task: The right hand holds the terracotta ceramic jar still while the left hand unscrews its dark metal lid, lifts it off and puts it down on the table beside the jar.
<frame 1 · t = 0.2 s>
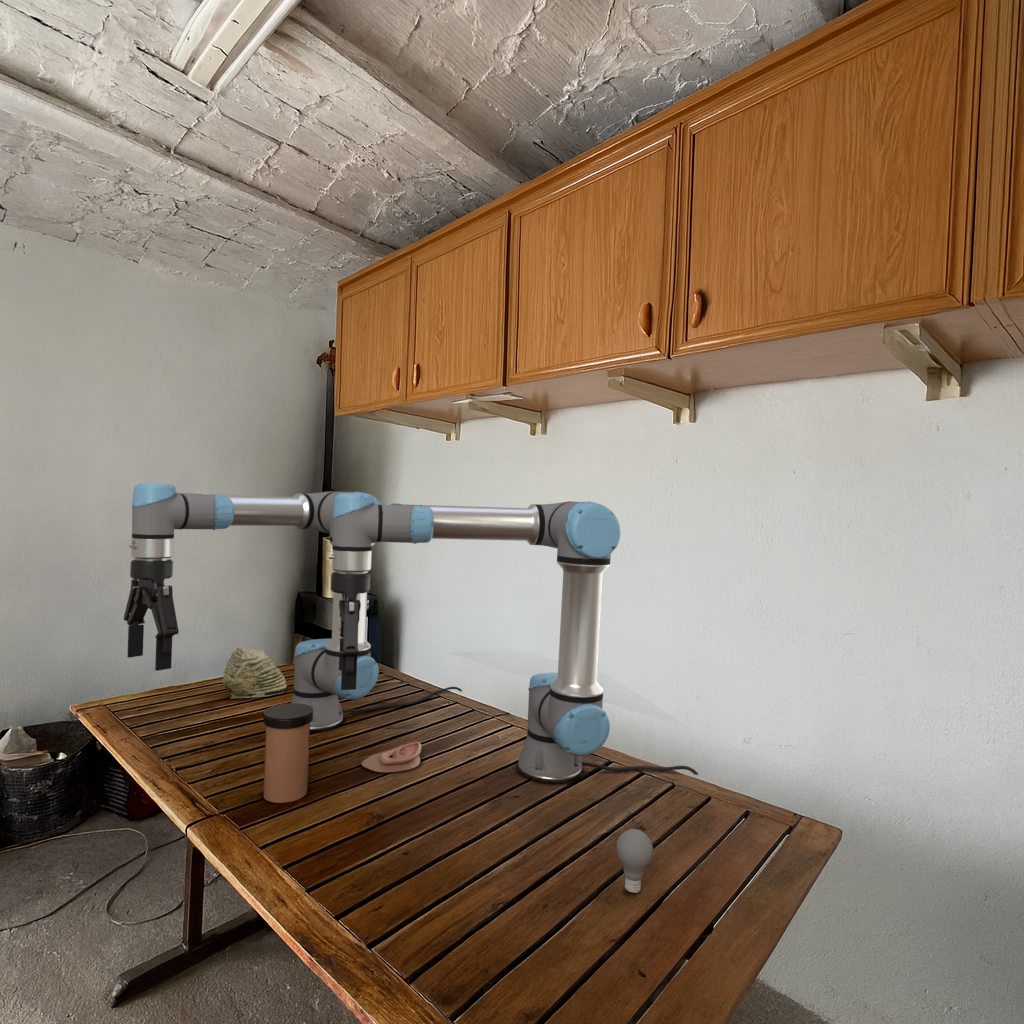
left hand: (148, 662, 129), 28 cm above the table, tool pointing down, fingers open, 13 cm apart
right hand: (346, 679, 125), 28 cm above the table, tool pointing down, fingers open, 13 cm apart
anatomical model: (391, 763, 152), on the table
lid: (288, 712, 134), point 17 cm above the table, screwed on, not yet turned
jar: (285, 793, 135), on the table
fossil: (254, 694, 198), on the table
light bulb: (632, 891, 106), on the table
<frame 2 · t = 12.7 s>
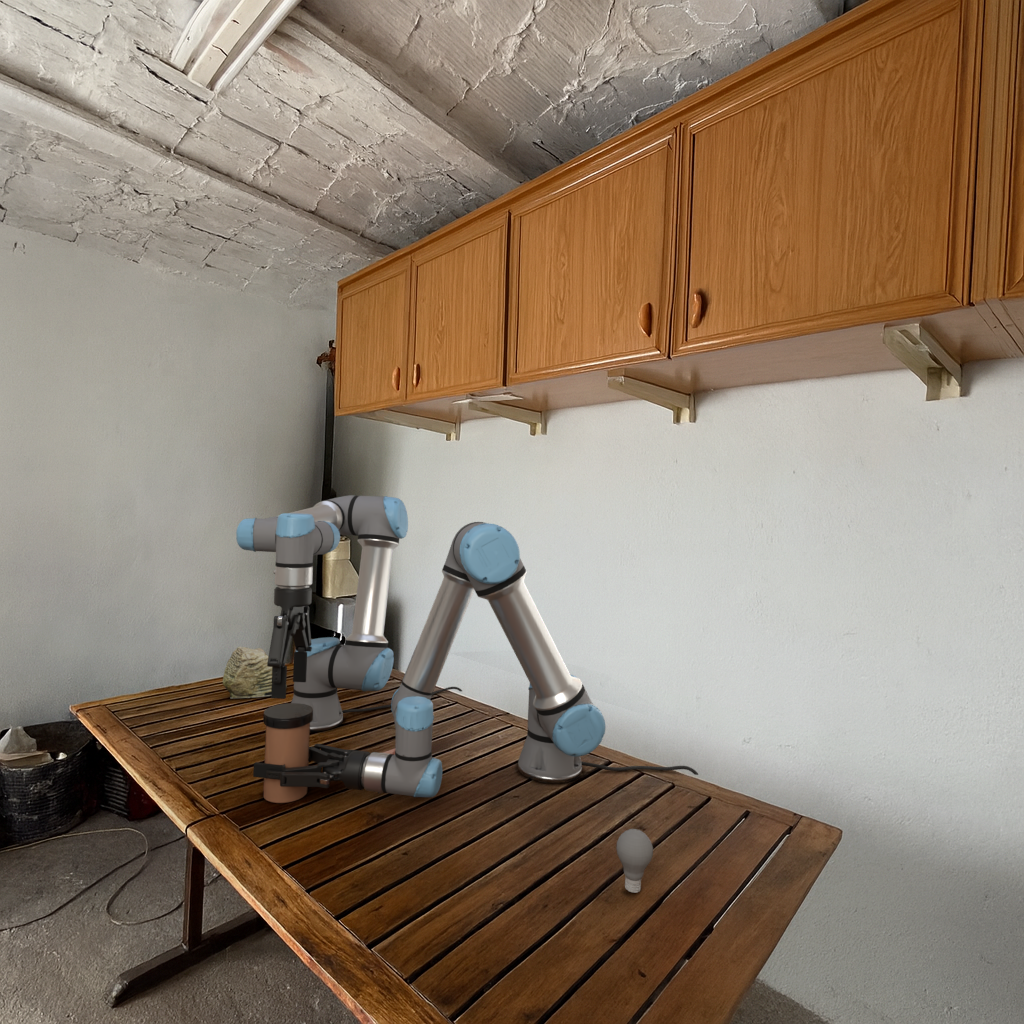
left hand: (289, 689, 134), 22 cm above the table, tool pointing down, fingers open, 11 cm apart
right hand: (266, 760, 135), 7 cm above the table, tool horizontal, fingers closed on jar, 9 cm apart
jar: (285, 793, 135), on the table, touching right hand
everything else where it was.
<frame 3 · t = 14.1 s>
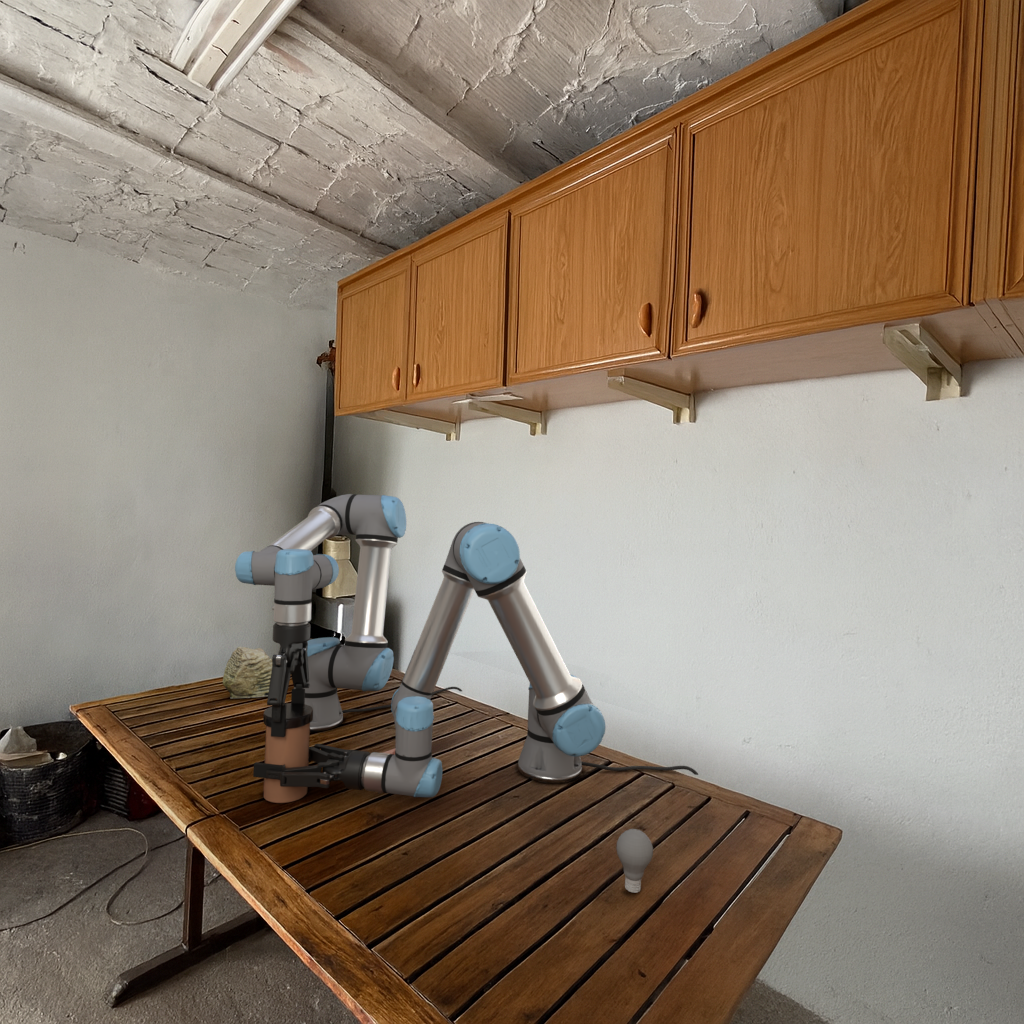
left hand: (288, 727, 134), 14 cm above the table, tool pointing down, fingers closed on lid, 10 cm apart
right hand: (266, 760, 135), 7 cm above the table, tool horizontal, fingers closed on jar, 9 cm apart
lid: (288, 712, 134), point 17 cm above the table, screwed on, not yet turned, touching left hand
jar: (285, 793, 135), on the table, touching right hand
everything else where it was.
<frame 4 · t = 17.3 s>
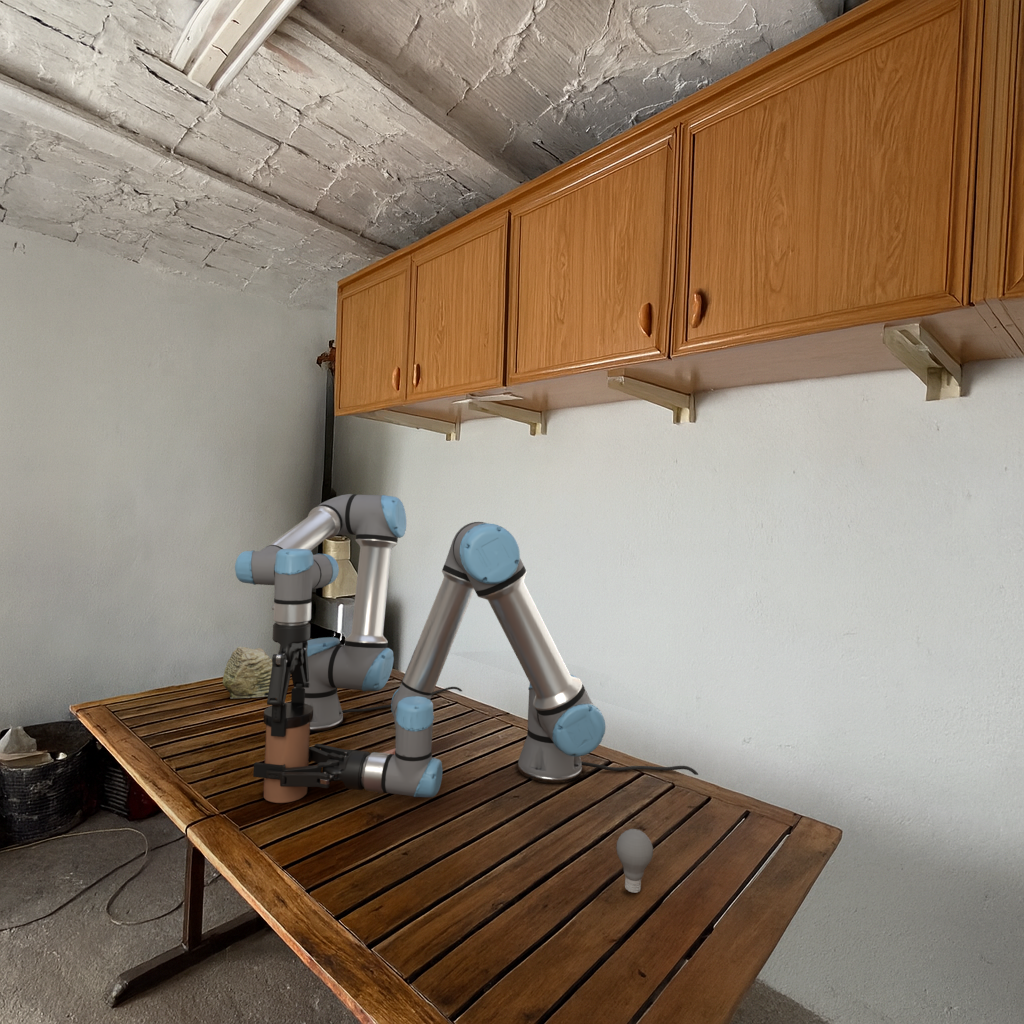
left hand: (288, 726, 134), 14 cm above the table, tool pointing down, fingers closed on lid, 10 cm apart
right hand: (266, 760, 135), 7 cm above the table, tool horizontal, fingers closed on jar, 9 cm apart
lid: (288, 711, 134), point 17 cm above the table, turned 92° so far, risen 0.1 cm, still on its thread, touching left hand
jar: (285, 793, 135), on the table, touching right hand
everything else where it was.
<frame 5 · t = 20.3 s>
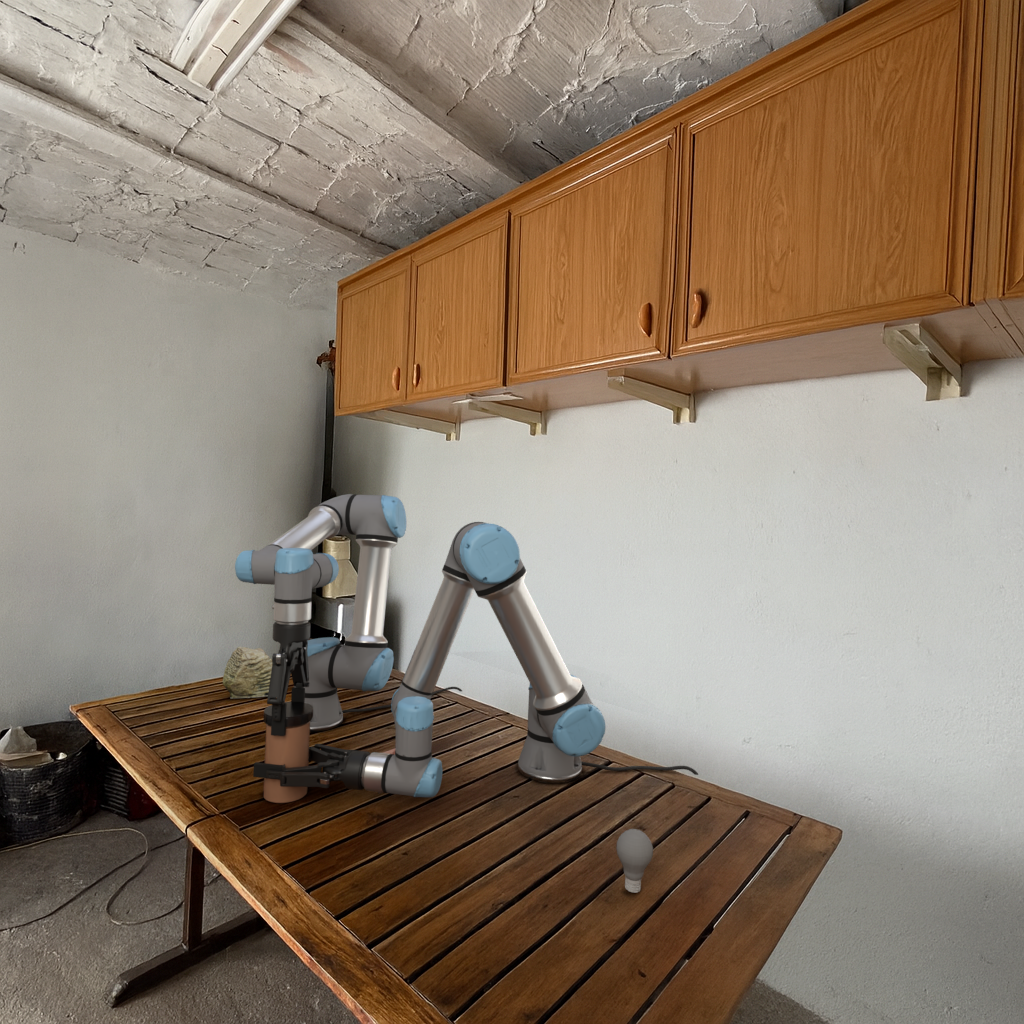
left hand: (288, 725, 134), 14 cm above the table, tool pointing down, fingers closed on lid, 10 cm apart
right hand: (266, 760, 135), 7 cm above the table, tool horizontal, fingers closed on jar, 9 cm apart
lid: (288, 710, 134), point 18 cm above the table, turned 183° so far, risen 0.3 cm, still on its thread, touching left hand
jar: (285, 793, 135), on the table, touching right hand
everything else where it was.
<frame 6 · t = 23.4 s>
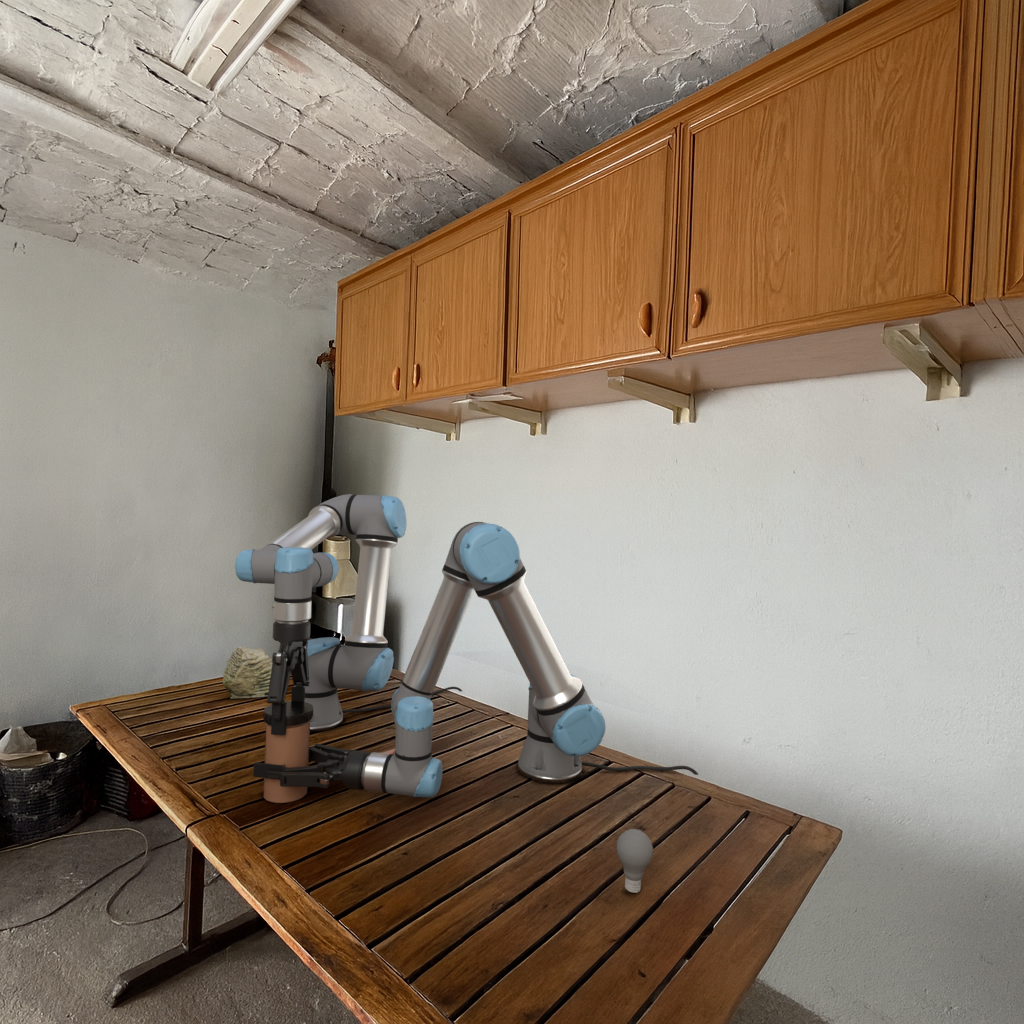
left hand: (288, 725, 134), 15 cm above the table, tool pointing down, fingers closed on lid, 10 cm apart
right hand: (266, 760, 135), 7 cm above the table, tool horizontal, fingers closed on jar, 9 cm apart
lid: (288, 710, 134), point 18 cm above the table, turned 274° so far, risen 0.5 cm, still on its thread, touching left hand
jar: (285, 793, 135), on the table, touching right hand
everything else where it was.
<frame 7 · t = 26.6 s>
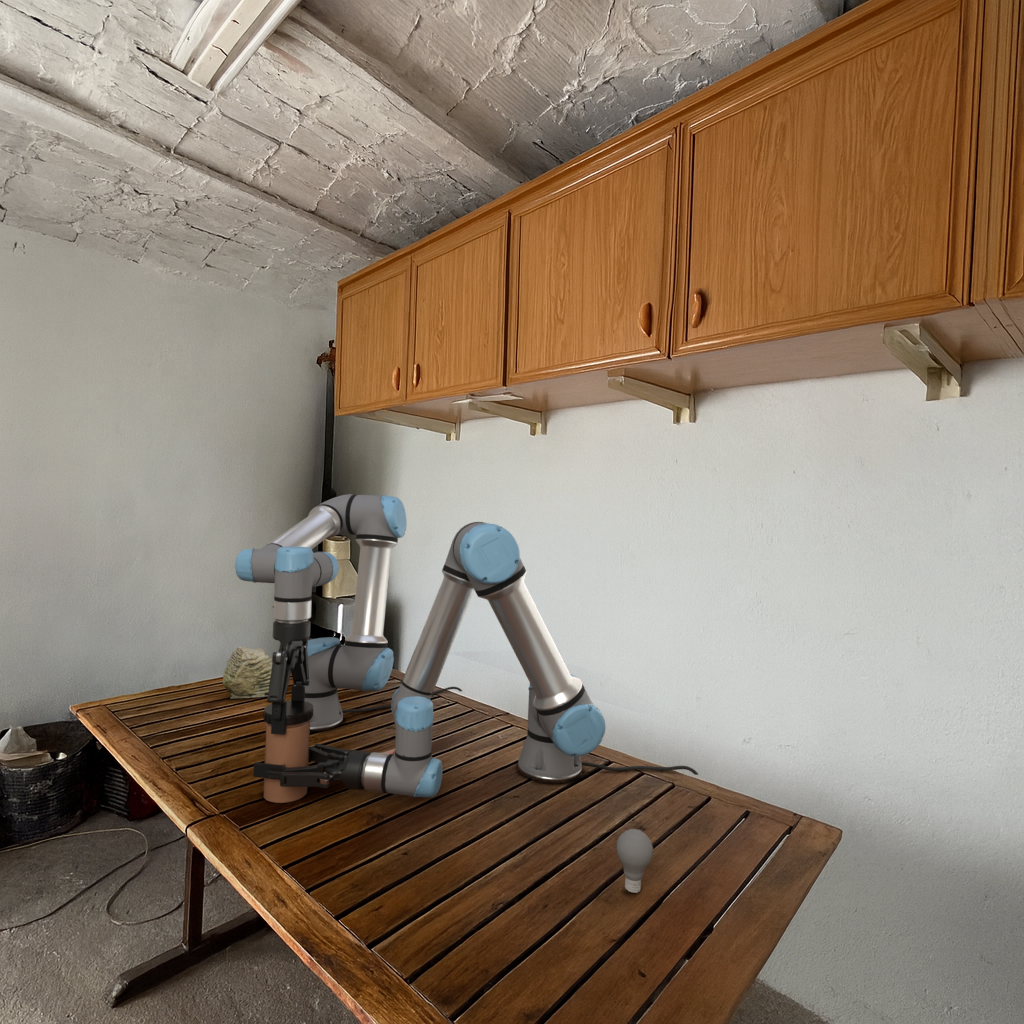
left hand: (288, 724, 134), 15 cm above the table, tool pointing down, fingers closed on lid, 10 cm apart
right hand: (266, 760, 135), 7 cm above the table, tool horizontal, fingers closed on jar, 9 cm apart
lid: (288, 709, 134), point 18 cm above the table, turned 366° so far, risen 0.6 cm, still on its thread, touching left hand
jar: (285, 793, 135), on the table, touching right hand
everything else where it was.
when the left hand's fingers open (0 cm above the table, at t = 35.9 s): lid drops 2 cm, point 2 cm above the table.
when the right hand's fingers open (7 cm above the table, at t = 36.9 s): jar stays where it is, on the table.
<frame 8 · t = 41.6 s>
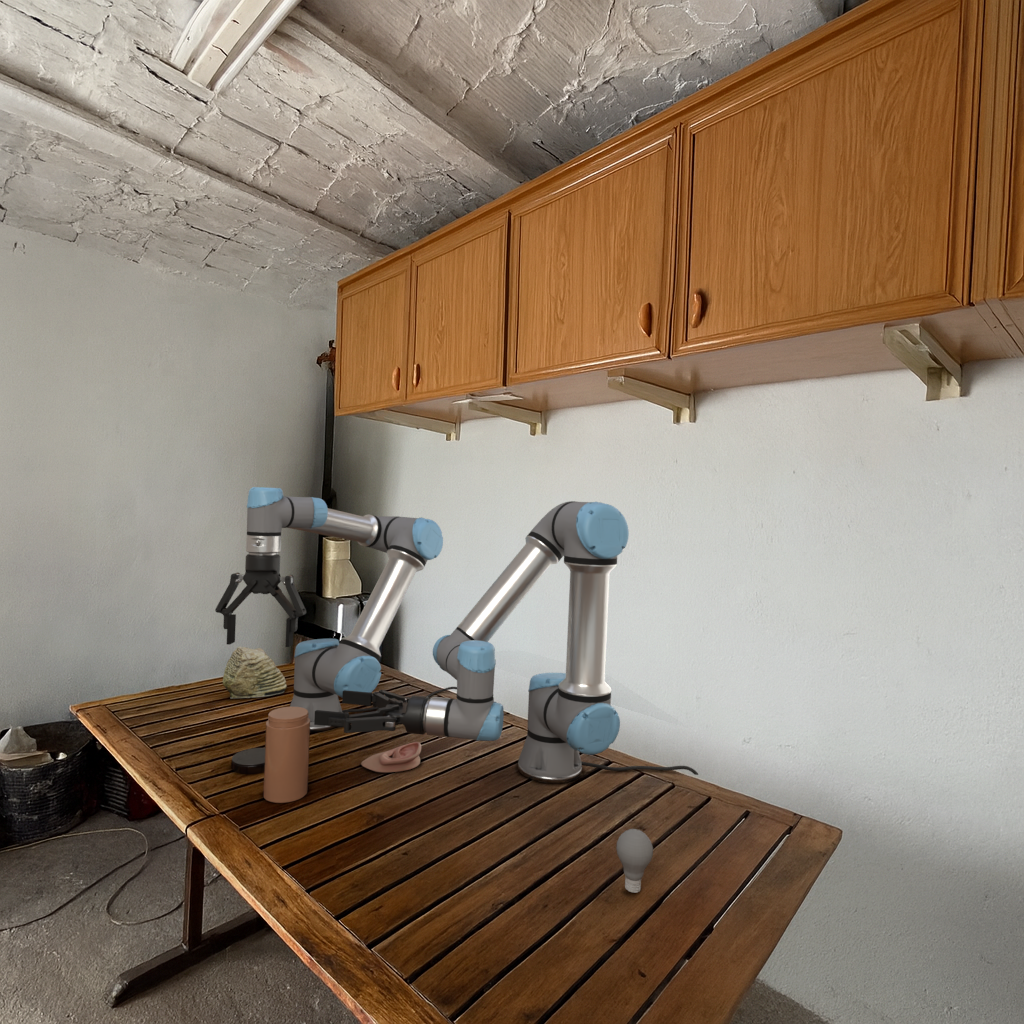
left hand: (259, 644, 147), 28 cm above the table, tool pointing down, fingers open, 13 cm apart
right hand: (329, 706, 133), 19 cm above the table, tool horizontal, fingers open, 13 cm apart
lid: (254, 757, 148), point 2 cm above the table, off its thread
jar: (285, 793, 135), on the table
everything else where it was.
at the end: lid came off its thread; lid point 1.7 cm above the table; the left hand is holding nothing; the right hand is holding nothing; jar tilted 0°; jar moved 0.0 cm from its start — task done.
